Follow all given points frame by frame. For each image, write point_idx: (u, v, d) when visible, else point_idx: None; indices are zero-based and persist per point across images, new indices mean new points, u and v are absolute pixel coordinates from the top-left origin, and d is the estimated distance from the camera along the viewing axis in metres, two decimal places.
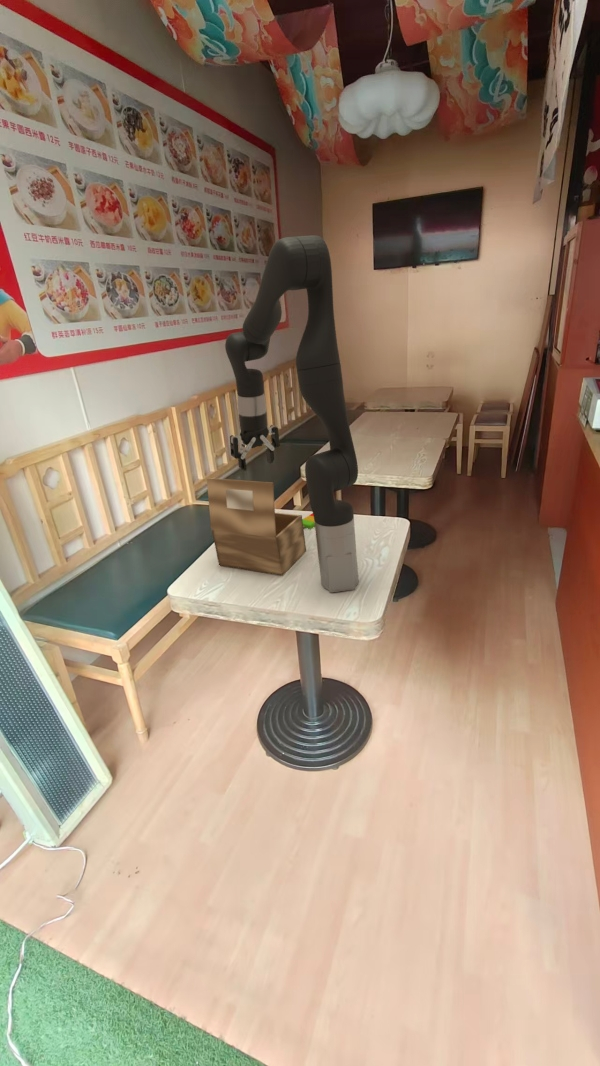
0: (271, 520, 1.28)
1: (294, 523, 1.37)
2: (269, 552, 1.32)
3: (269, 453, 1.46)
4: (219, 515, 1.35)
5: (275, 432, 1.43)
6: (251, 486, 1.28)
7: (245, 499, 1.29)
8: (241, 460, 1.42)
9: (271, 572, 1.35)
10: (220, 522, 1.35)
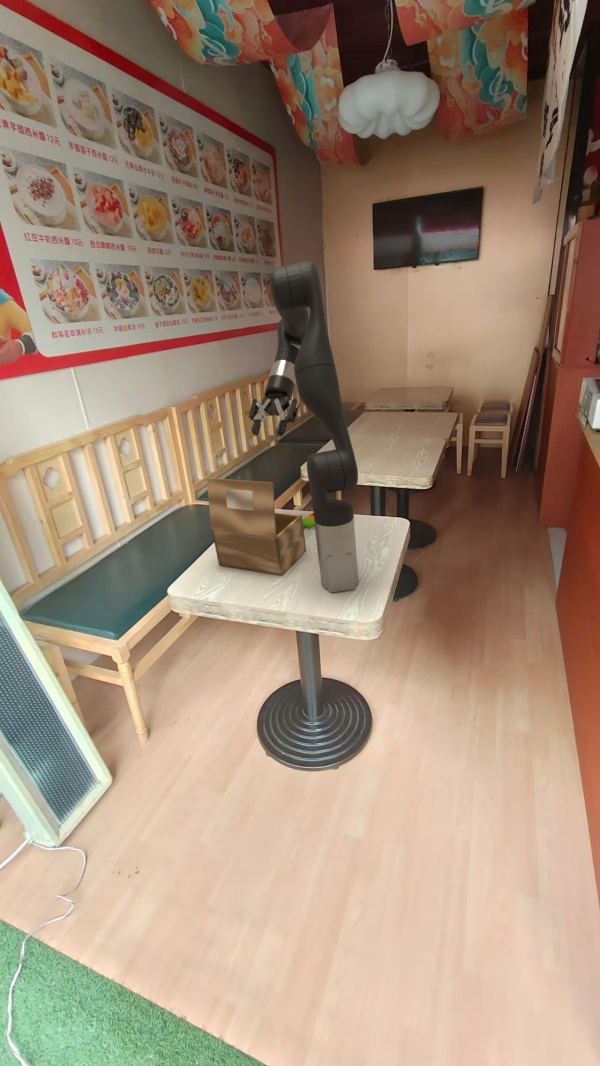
0: (271, 520, 1.28)
1: (294, 523, 1.37)
2: (269, 552, 1.32)
3: None
4: (219, 515, 1.35)
5: (292, 403, 1.38)
6: (251, 486, 1.28)
7: (245, 499, 1.29)
8: (254, 422, 1.41)
9: (271, 572, 1.35)
10: (220, 522, 1.35)
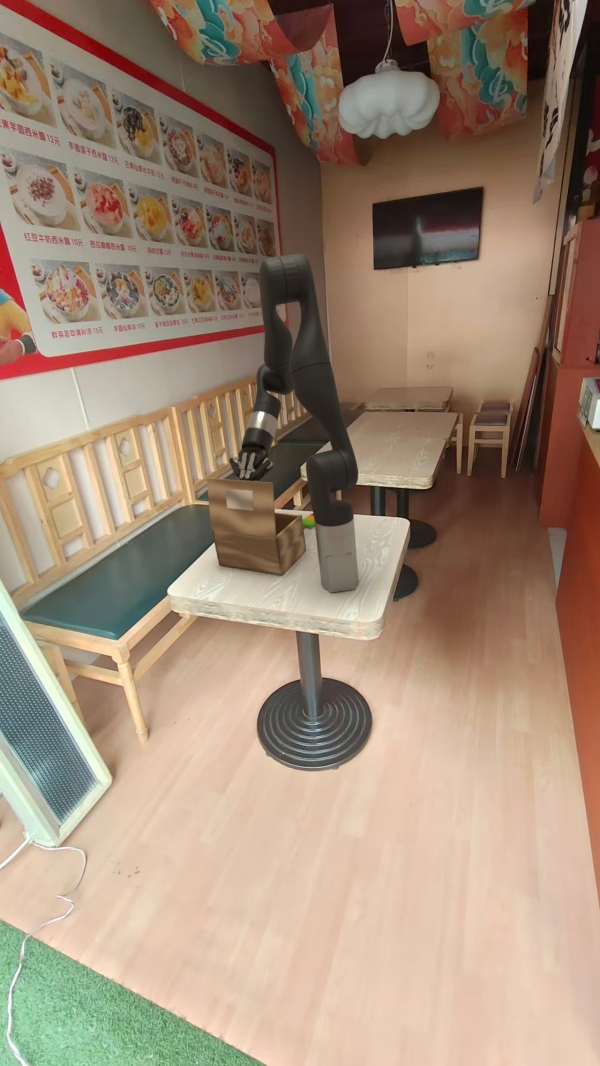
0: (271, 520, 1.28)
1: (294, 523, 1.37)
2: (269, 552, 1.32)
3: None
4: (219, 515, 1.35)
5: (264, 463, 1.30)
6: (251, 486, 1.28)
7: (245, 499, 1.29)
8: None
9: (271, 572, 1.35)
10: (220, 522, 1.35)
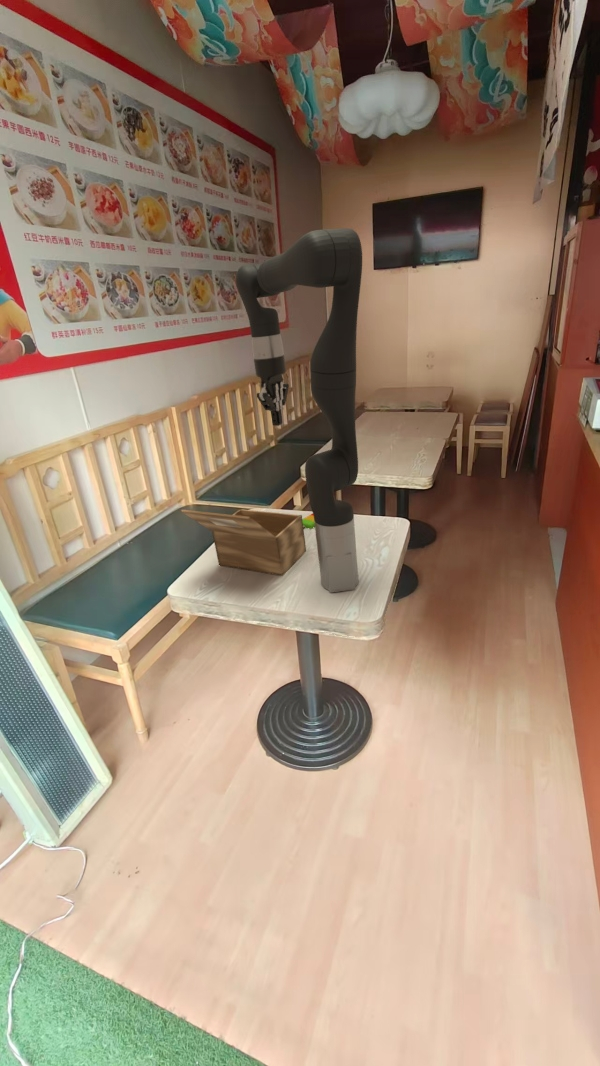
0: (264, 532, 1.25)
1: (294, 523, 1.37)
2: (269, 552, 1.32)
3: None
4: (213, 526, 1.33)
5: (286, 388, 1.34)
6: (229, 518, 1.21)
7: (230, 522, 1.24)
8: (276, 413, 1.32)
9: (271, 572, 1.35)
10: (216, 529, 1.34)
